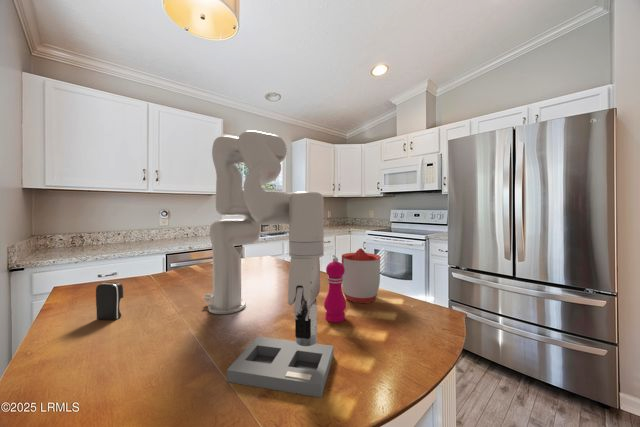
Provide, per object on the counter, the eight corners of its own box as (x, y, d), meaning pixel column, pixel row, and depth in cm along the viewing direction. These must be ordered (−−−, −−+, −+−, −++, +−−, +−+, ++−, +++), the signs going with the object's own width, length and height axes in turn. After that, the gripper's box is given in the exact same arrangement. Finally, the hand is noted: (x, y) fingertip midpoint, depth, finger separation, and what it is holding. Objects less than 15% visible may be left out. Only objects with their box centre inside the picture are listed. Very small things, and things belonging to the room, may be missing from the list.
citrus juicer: (335, 291, 110) (335, 245, 109) (376, 292, 109) (376, 245, 109) (336, 305, 94) (337, 251, 94) (384, 306, 93) (385, 251, 93)
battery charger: (125, 315, 85) (125, 281, 84) (115, 320, 81) (114, 284, 80) (106, 314, 85) (105, 280, 85) (95, 319, 81) (94, 284, 81)
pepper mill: (344, 324, 79) (345, 259, 79) (322, 322, 80) (322, 258, 80) (347, 314, 86) (347, 255, 86) (326, 312, 88) (326, 254, 87)
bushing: (293, 344, 54) (293, 307, 54) (299, 334, 59) (299, 299, 59) (314, 347, 53) (314, 309, 53) (319, 336, 58) (319, 301, 58)
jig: (226, 381, 53) (226, 368, 53) (257, 345, 66) (257, 335, 66) (321, 397, 48) (321, 383, 48) (333, 355, 62) (333, 344, 62)
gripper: (301, 243, 65) (301, 314, 65) (275, 254, 48) (275, 350, 49) (330, 244, 63) (330, 317, 63) (313, 256, 47) (313, 355, 47)
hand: (306, 330), depth 56 cm, fingers closed on bushing, 4 cm apart
